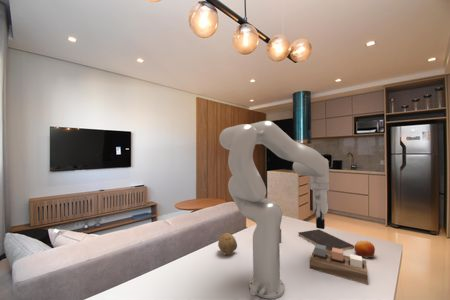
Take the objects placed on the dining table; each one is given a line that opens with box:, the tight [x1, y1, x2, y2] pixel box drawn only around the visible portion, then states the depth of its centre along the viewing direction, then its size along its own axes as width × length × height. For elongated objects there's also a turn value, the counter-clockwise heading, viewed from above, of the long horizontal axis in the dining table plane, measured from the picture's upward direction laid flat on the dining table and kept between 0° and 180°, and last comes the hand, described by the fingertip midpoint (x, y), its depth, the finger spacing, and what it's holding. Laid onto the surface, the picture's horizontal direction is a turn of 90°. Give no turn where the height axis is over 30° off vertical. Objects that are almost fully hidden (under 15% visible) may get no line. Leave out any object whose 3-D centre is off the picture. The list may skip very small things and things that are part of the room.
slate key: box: [314, 244, 326, 257], centre depth 88 cm, size 4×4×3 cm
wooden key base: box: [309, 248, 369, 285], centre depth 84 cm, size 12×20×4 cm, turn 57°
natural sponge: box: [217, 232, 238, 256], centre depth 97 cm, size 9×9×10 cm
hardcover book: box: [297, 228, 355, 252], centre depth 111 cm, size 16×23×2 cm
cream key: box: [349, 253, 363, 269], centre depth 81 cm, size 4×4×3 cm
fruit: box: [353, 240, 376, 259], centre depth 95 cm, size 8×8×8 cm
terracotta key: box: [332, 247, 344, 261], centre depth 85 cm, size 4×4×3 cm
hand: (320, 227), depth 88 cm, fingers closed
